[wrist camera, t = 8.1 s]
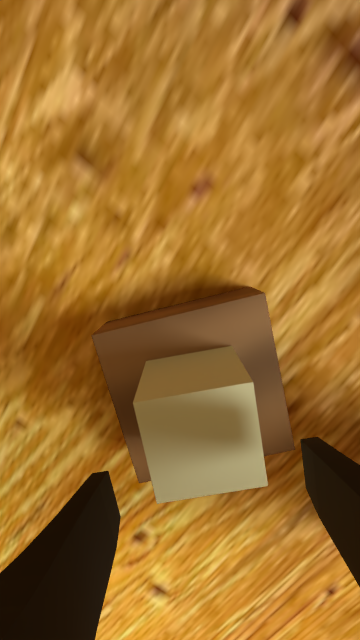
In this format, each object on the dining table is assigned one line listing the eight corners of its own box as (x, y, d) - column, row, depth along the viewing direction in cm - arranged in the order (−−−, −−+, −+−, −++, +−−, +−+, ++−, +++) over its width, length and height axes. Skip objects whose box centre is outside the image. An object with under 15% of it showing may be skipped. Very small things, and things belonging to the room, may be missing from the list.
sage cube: (243, 423, 18) (267, 486, 13) (162, 437, 18) (156, 503, 13) (231, 345, 17) (253, 381, 12) (146, 361, 17) (132, 402, 12)
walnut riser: (274, 415, 22) (295, 449, 18) (146, 444, 23) (139, 483, 19) (248, 286, 20) (264, 292, 16) (108, 320, 21) (91, 335, 17)
